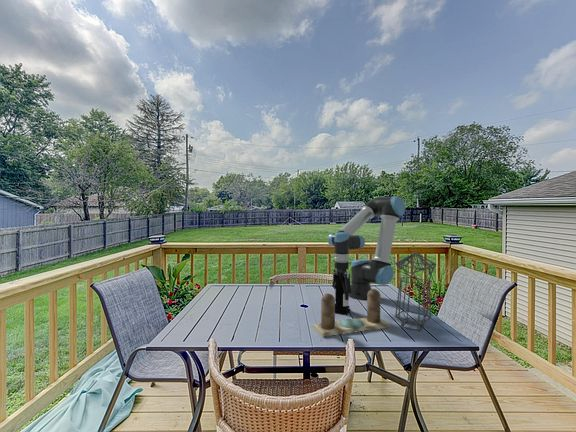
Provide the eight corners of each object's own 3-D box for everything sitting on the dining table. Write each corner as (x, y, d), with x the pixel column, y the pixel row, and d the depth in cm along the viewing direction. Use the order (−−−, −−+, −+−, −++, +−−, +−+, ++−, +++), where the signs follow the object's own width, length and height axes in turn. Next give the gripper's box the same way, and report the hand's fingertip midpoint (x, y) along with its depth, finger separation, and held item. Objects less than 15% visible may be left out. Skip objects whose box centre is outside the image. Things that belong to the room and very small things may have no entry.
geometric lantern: (401, 318, 152) (404, 249, 152) (435, 326, 142) (438, 252, 142) (390, 327, 140) (392, 252, 139) (425, 337, 130) (429, 256, 129)
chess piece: (350, 310, 164) (350, 273, 164) (346, 314, 157) (347, 276, 157) (336, 308, 168) (336, 272, 167) (331, 312, 160) (332, 275, 160)
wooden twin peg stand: (375, 319, 150) (375, 285, 150) (389, 327, 140) (390, 291, 139) (312, 328, 139) (312, 291, 139) (323, 337, 128) (323, 298, 128)
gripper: (326, 258, 171) (325, 298, 171) (345, 265, 150) (345, 310, 151) (338, 257, 173) (337, 296, 174) (358, 264, 153) (358, 308, 153)
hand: (341, 303), depth 162 cm, fingers closed on chess piece, 9 cm apart
